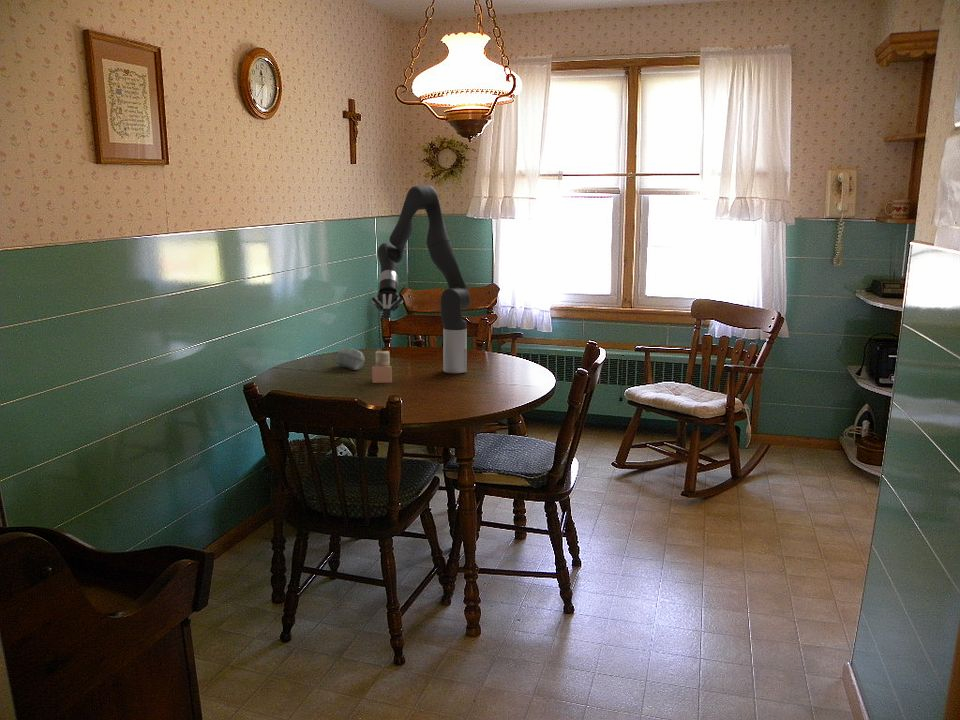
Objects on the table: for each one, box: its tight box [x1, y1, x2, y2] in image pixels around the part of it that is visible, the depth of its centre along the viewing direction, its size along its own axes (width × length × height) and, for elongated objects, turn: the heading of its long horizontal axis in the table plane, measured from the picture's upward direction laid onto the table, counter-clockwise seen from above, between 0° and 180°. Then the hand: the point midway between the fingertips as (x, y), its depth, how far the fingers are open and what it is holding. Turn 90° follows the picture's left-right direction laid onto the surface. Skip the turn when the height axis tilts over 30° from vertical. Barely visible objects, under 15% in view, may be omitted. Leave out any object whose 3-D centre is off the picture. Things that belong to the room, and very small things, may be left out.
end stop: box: [371, 365, 393, 384], centre depth 286 cm, size 7×2×6 cm, turn 91°
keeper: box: [375, 350, 391, 366], centre depth 289 cm, size 5×4×10 cm
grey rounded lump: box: [335, 347, 365, 371], centre depth 309 cm, size 14×10×10 cm
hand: (386, 318), depth 303 cm, fingers closed
